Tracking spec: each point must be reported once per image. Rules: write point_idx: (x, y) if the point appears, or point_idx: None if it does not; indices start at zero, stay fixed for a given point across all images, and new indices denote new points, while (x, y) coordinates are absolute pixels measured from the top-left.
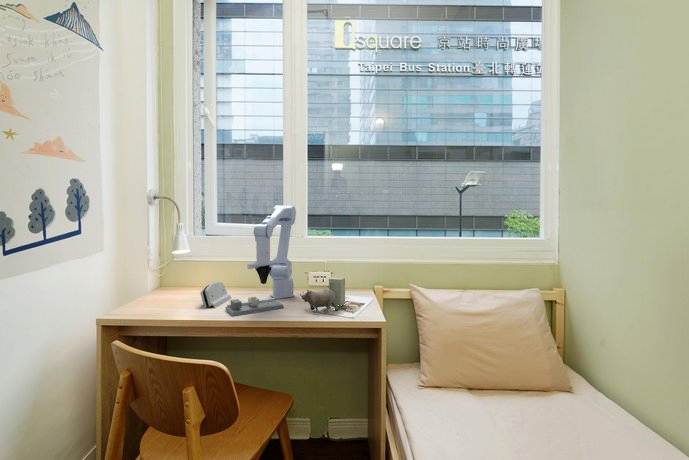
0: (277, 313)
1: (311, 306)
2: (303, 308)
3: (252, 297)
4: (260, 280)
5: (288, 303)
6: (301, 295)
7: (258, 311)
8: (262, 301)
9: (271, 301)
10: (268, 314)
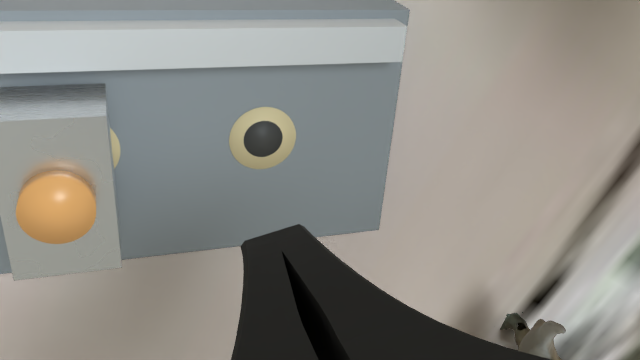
0: None
1: (518, 346)
2: (484, 282)
3: (36, 224)
4: (245, 281)
5: (490, 89)
6: (550, 339)
7: None
8: (225, 60)
9: (339, 65)
10: (161, 333)
